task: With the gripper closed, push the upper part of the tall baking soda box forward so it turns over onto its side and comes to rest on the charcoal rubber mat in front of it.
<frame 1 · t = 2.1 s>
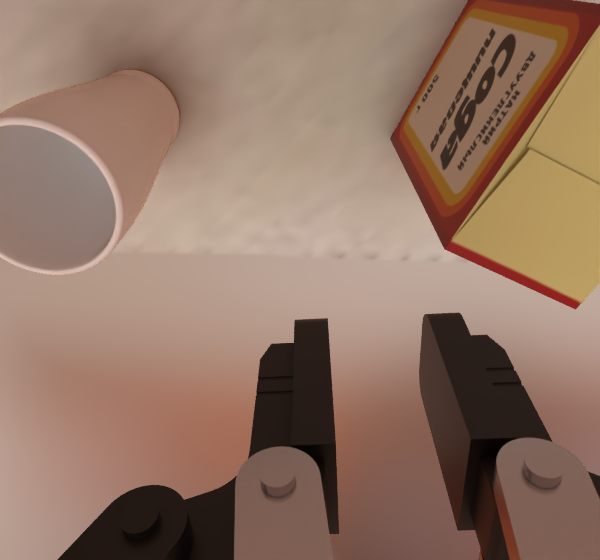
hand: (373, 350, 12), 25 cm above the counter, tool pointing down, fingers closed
baking soda box: (474, 91, 33), on the counter
pinkish beige cup: (140, 111, 34), on the counter
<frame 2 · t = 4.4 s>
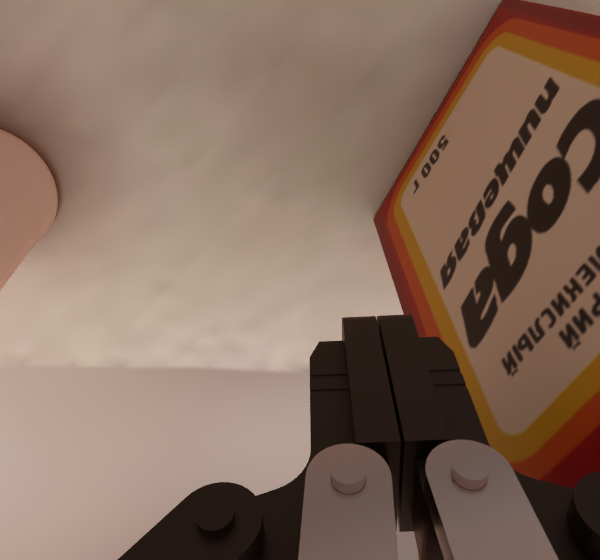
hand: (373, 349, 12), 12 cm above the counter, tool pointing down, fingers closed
baking soda box: (498, 152, 22), on the counter, touching gripper
pinkish beige cup: (1, 182, 23), on the counter
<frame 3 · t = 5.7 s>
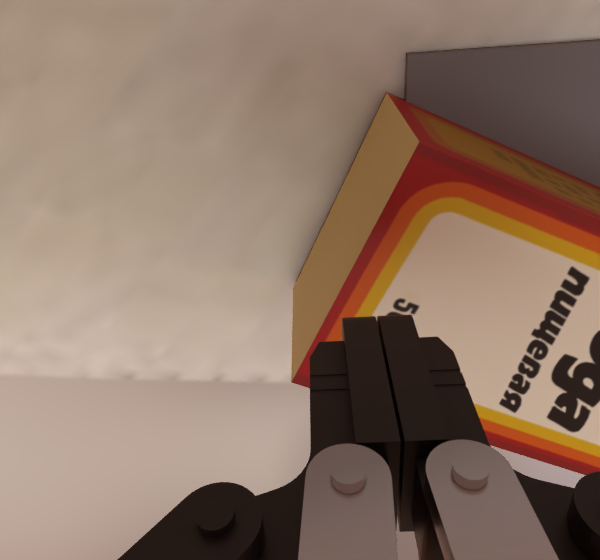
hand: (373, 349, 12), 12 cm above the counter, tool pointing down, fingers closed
baking soda box: (335, 231, 20), point 4 cm above the counter, touching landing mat
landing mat: (543, 182, 23), on the counter
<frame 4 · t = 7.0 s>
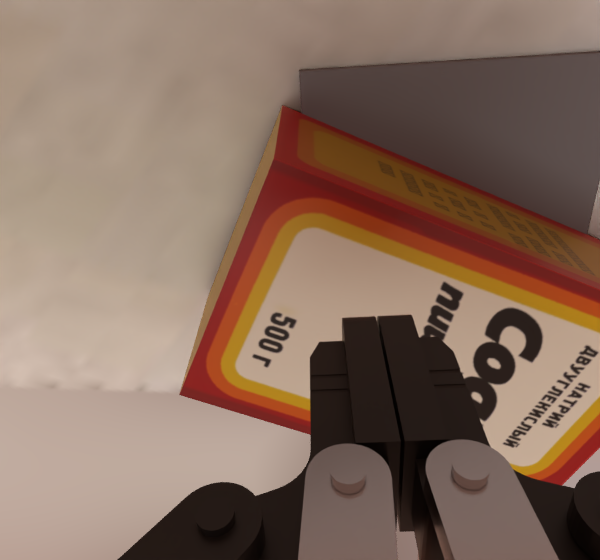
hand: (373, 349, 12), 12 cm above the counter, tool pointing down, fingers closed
baking soda box: (227, 243, 20), point 4 cm above the counter, touching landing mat
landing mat: (448, 198, 23), on the counter
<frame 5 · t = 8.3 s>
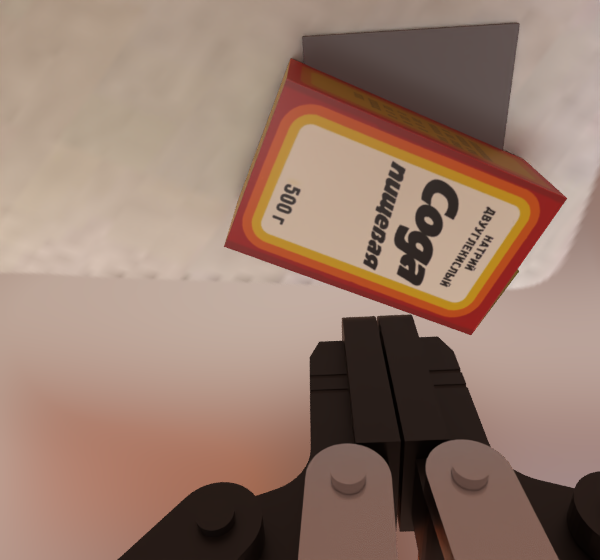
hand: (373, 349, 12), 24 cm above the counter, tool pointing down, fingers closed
baking soda box: (254, 149, 30), point 4 cm above the counter, touching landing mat
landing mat: (405, 127, 33), on the counter
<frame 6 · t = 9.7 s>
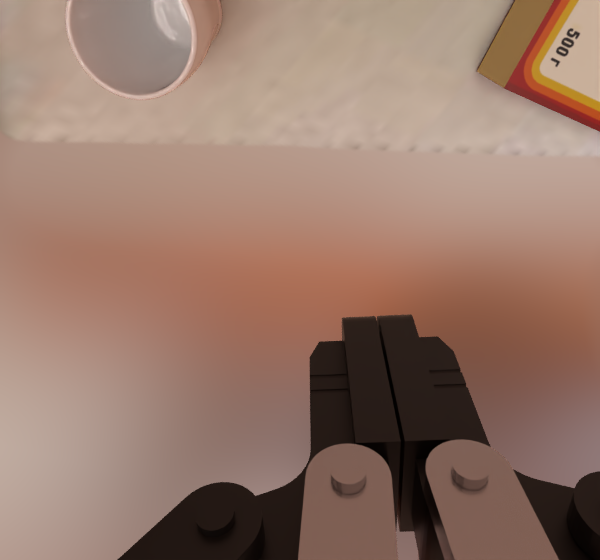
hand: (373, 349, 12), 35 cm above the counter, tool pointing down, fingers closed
baking soda box: (524, 9, 36), point 4 cm above the counter, touching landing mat
pinkish beige cup: (188, 10, 40), on the counter
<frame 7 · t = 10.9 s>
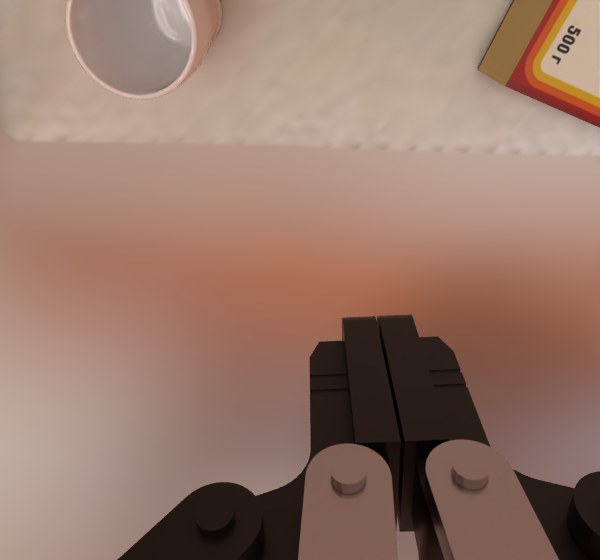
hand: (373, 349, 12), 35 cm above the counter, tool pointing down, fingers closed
baking soda box: (524, 7, 36), point 4 cm above the counter, touching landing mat
pinkish beige cup: (187, 10, 40), on the counter
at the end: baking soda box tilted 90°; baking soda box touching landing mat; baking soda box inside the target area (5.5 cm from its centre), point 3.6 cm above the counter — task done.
